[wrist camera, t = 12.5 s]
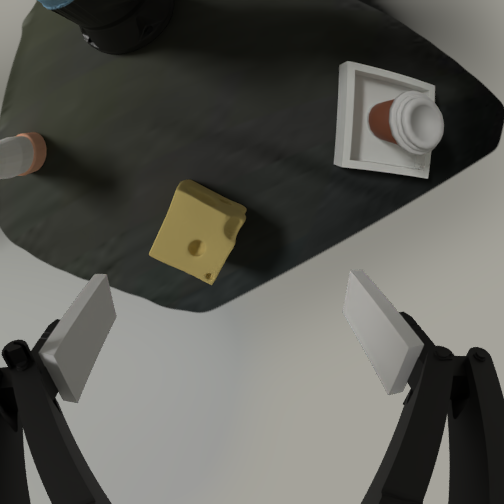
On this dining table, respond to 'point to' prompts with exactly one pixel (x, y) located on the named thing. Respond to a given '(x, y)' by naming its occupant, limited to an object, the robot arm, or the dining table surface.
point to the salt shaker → (21, 154)
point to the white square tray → (356, 128)
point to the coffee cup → (408, 122)
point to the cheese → (198, 231)
